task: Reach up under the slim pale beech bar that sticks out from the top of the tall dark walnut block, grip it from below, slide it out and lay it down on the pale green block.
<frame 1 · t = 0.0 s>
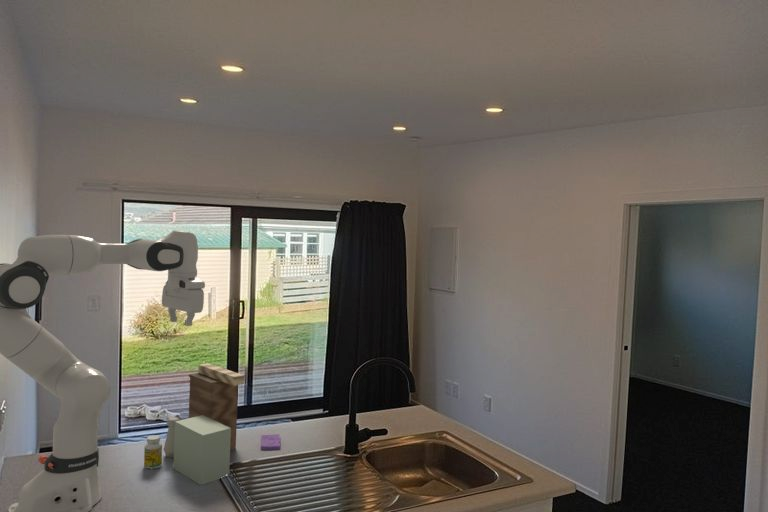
hand: (180, 323, 179), 48 cm above the worktop, tool pointing down, fingers open, 8 cm apart
sponges: (270, 445, 208), on the worktop
beech bar: (220, 378, 198), point 26 cm above the worktop, touching walnut block
supplement bottle: (152, 466, 183), on the worktop
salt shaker: (172, 456, 192), on the worktop
pale green block: (200, 471, 180), on the worktop
walnut block: (211, 446, 201), on the worktop
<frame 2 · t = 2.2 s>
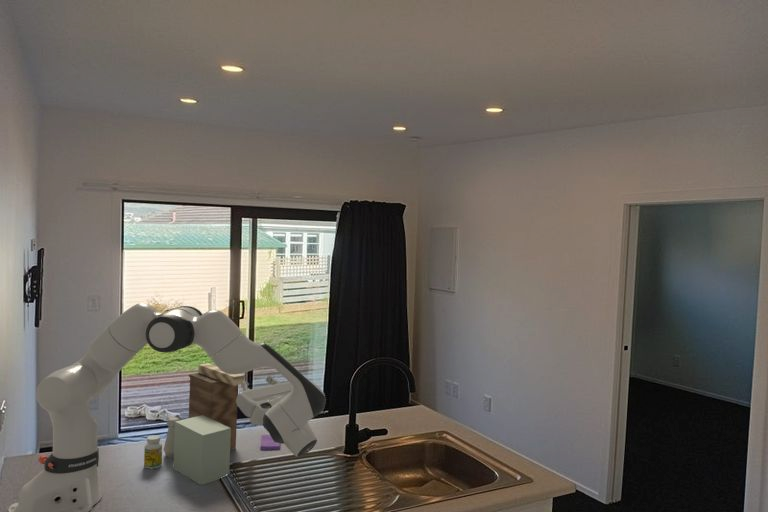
hand: (256, 380, 175), 32 cm above the worktop, tool pointing upward, fingers open, 8 cm apart
nothing on the worktop moved.
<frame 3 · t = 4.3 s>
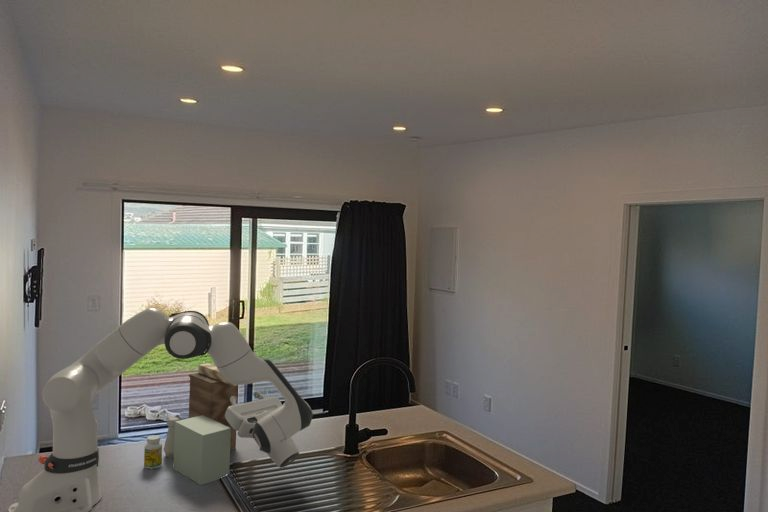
hand: (244, 395, 188), 23 cm above the worktop, tool pointing upward, fingers open, 8 cm apart
nothing on the worktop moved.
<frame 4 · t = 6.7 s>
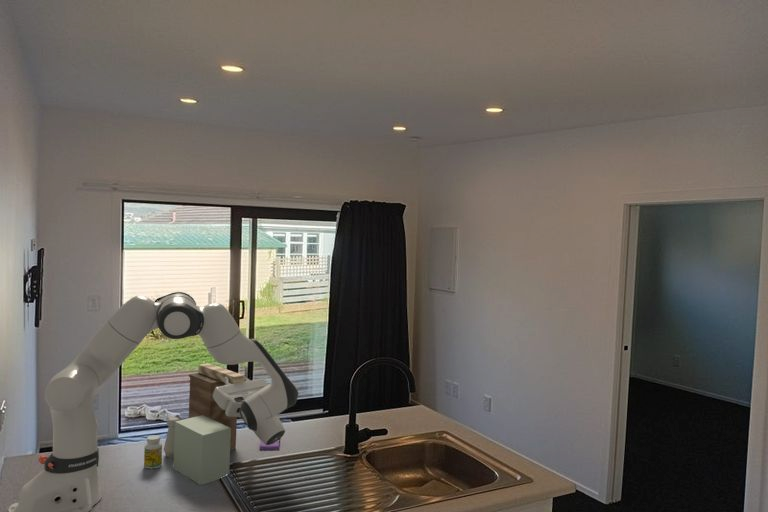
hand: (232, 376, 193), 28 cm above the worktop, tool pointing upward, fingers closed on beech bar, 4 cm apart
beech bar: (220, 378, 198), point 26 cm above the worktop, touching gripper, walnut block
everything else where it was.
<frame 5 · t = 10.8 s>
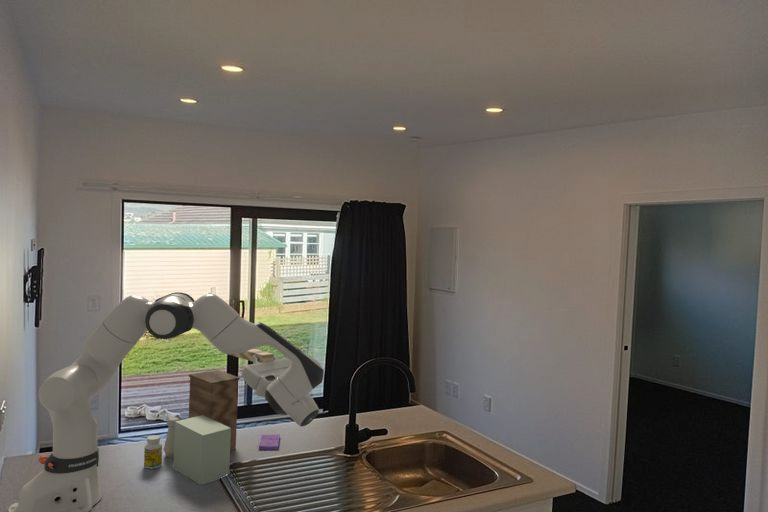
hand: (260, 355, 183), 38 cm above the worktop, tool pointing upward, fingers closed on beech bar, 4 cm apart
beech bar: (247, 357, 188), point 36 cm above the worktop, touching gripper
everything else where it was.
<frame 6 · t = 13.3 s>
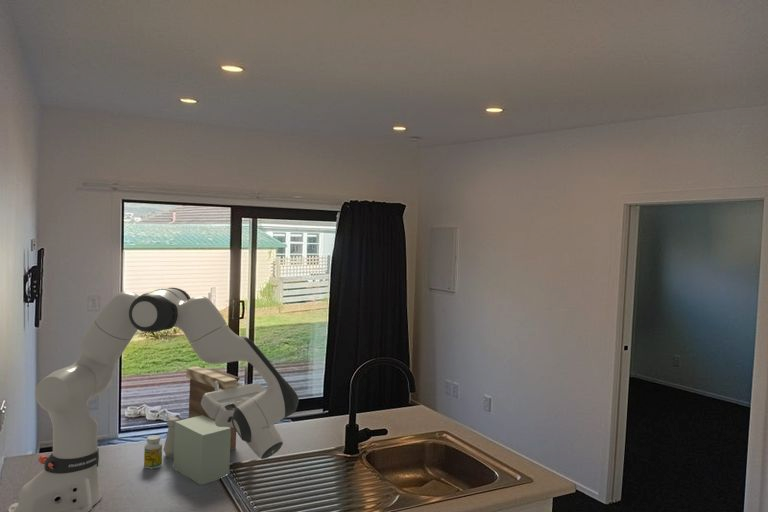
hand: (223, 381, 172), 32 cm above the worktop, tool pointing upward, fingers closed on beech bar, 4 cm apart
beech bar: (210, 382, 177), point 30 cm above the worktop, touching gripper
everything else where it was.
when the fingers open (20 cm above the worktop, at t = 15.3 s): beech bar drops 3 cm, resting on pale green block.
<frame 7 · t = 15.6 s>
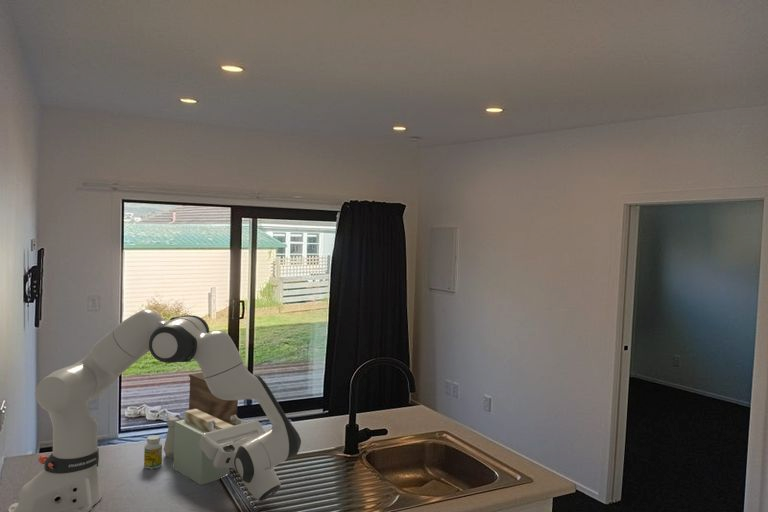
hand: (221, 419, 172), 20 cm above the worktop, tool pointing upward, fingers open, 6 cm apart
beech bar: (208, 427, 177), point 15 cm above the worktop, touching pale green block
everything else where it was.
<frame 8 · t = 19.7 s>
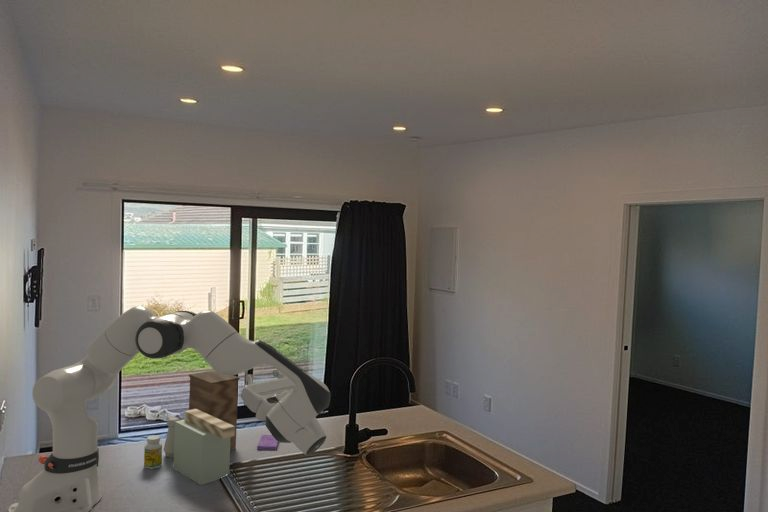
hand: (261, 373, 166), 36 cm above the worktop, tool pointing upward, fingers open, 8 cm apart
nothing on the worktop moved.
at the end: beech bar inside the target area (1.7 cm from its centre), point 15.5 cm above the worktop; the gripper is holding nothing; beech bar touching pale green block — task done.
